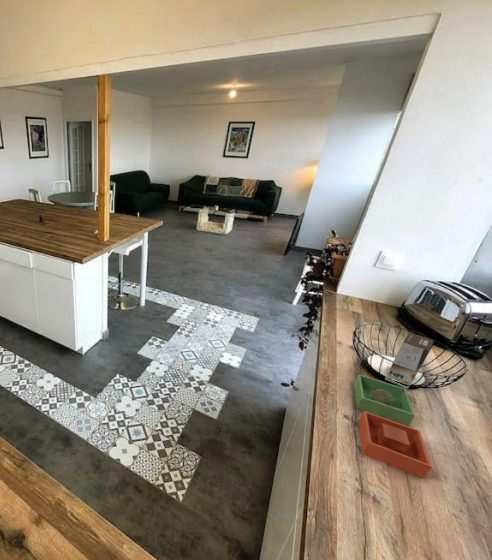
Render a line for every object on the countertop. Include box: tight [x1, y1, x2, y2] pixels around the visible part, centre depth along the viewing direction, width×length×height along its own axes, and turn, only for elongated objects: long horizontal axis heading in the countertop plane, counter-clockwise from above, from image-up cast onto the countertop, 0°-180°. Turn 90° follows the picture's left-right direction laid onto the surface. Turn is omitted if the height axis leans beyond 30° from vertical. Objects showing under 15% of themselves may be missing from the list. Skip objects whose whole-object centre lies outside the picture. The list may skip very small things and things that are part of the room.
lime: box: [372, 389, 394, 406], centre depth 97 cm, size 4×5×5 cm
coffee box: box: [384, 332, 435, 390], centre depth 105 cm, size 9×6×16 cm
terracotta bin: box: [358, 411, 433, 479], centre depth 84 cm, size 12×12×4 cm
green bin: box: [353, 373, 415, 427], centre depth 97 cm, size 12×12×4 cm
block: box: [375, 423, 410, 455], centre depth 83 cm, size 5×5×5 cm
